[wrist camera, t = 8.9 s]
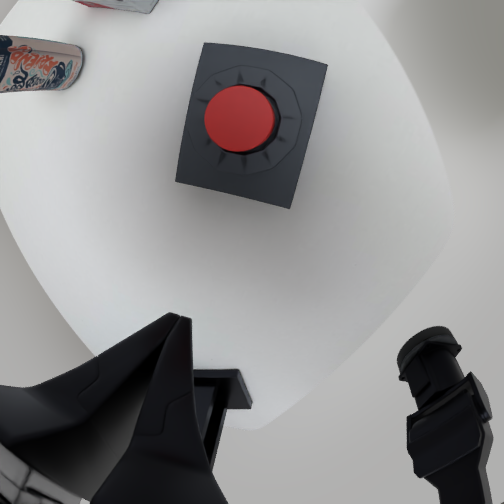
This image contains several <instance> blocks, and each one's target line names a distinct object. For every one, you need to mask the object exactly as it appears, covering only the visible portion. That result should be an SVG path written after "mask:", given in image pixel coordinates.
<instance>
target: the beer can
mask: <svg viewBox="0 0 504 504" xmlns="http://www.w3.org/2000/svg"><path fill="white" fill-rule="evenodd" d="M81 65H82V52H81V50H80V48H79V47H78V46H76V45H72V44H67V43H62V42H56V41H50V40H44V39H36V38H28V37H18V36H5V35H0V93H6V92H18V91H38V90H63V89H65V88H67V87H69V86H70V85H71V84H72V83H73V81H74V80H75V79H76V77H77V75H78V73H79V71H80V68H81Z"/></svg>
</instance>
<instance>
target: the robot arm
mask: <svg viewBox="0 0 504 504" xmlns="http://www.w3.org/2000/svg"><path fill="white" fill-rule="evenodd" d="M461 349H462V348H461V345H458V344H451V343H444V342H437V341H430V340H428V341H426V342H425V343H424V344H423V346H422V347H421V348H420V350H419V351H418V352H417V354H416V355H415V356H414V358H413V359H412V360H411V362H410V363H409V364H408V365H407V367H406V368H405V369H404V370H403V372H402V373H401V374H400V375H399V380H400V381H408V383H409V387H410V390H411V393H412V397H414V398H415V400H416V404H417V407H418V411H417V412H415V413H413V414H412V415H409V416H407V450H408V454H409V455H410V456H411V458H412V460H413V468H414V473H415V474H416V475H417V476H418V477H419V478H424V479H426V480H427V481H429V482H430V483H431V484H432V485H433V486H434V487H436V488H437V489H438V493H439V499H440V504H492V499H491V492H490V487H489V482H488V478H487V473H486V464H487V461H488V457H489V454H490V450H491V446H492V443H493V434H492V431H491V428H490V425H489V422H488V421H489V420H491V419H492V412H491V408H490V404H489V399H488V396H487V394H486V392H485V390H484V388H483V386H482V384H481V383H480V381H479V380H478V379H477V378H476V377H475V376H474V374H473V373H472V372H470V373H468V374H467V376H466V377H464V375H463V373H462V371H461V369H460V366H459V364H458V362H457V360H456V358H455V357H456V356H457V355H458V353H459V352H460V351H461ZM82 498H84V499H85V500H88V501H90V504H228V502H227V501H226V498H225V497H224V495H223V493H222V491H221V489H220V487H219V486H218V484H217V482H216V480H215V478H214V475H213V473H212V470H211V468H210V465H209V462H208V458H207V455H206V452H205V448H204V444H203V441H202V437H201V433H200V430H199V425H198V420H197V416H196V407H195V395H194V378H193V351H192V319H191V318H188V317H184V316H180V315H178V314H174V313H171V312H170V313H167V314H165V315H164V316H162V317H161V318H159V319H157V320H156V321H154V322H152V323H151V324H149V325H147V326H146V327H144V328H142V329H141V330H139V331H137V332H136V333H134V334H133V335H131V336H129V337H128V338H126V339H124V340H123V341H121V342H119V343H118V344H116V345H114V346H113V347H111V348H109V349H108V350H106V351H104V352H103V353H101V354H99V355H98V356H96V357H94V358H93V359H91V360H89V361H87V362H86V363H84V364H82V365H80V366H78V367H76V368H74V369H72V370H70V371H68V372H66V373H64V374H61V375H59V376H57V377H55V378H52V379H50V380H48V381H45V382H43V383H41V384H38V385H36V386H32V387H25V388H20V387H11V386H4V385H0V504H80V501H81V499H82ZM501 504H504V502H503V503H501Z"/></svg>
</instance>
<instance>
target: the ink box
mask: <svg viewBox="0 0 504 504" xmlns="http://www.w3.org/2000/svg"><path fill="white" fill-rule="evenodd" d="M73 1H75V2H78V3H81V4H83V5H86V6H88V7H101V8H112V9H121V10H129V11H135V12H142V13H150V11H151V10H152V8H153V7H154V6H155V4H156V3H157V1H158V0H73Z"/></svg>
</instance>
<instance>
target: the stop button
mask: <svg viewBox="0 0 504 504" xmlns="http://www.w3.org/2000/svg"><path fill="white" fill-rule="evenodd" d="M204 122H205V127H206V130H207V133H208V135H209V136H210V138H211V139H212V140H213V141H214V142H215V143H216V144H217V145H218V146H220V147H222V148H224V149H226V150H229V151H235V152H241V151H247V150H250V149H253V148H255V147H257V146H259V145H261V144H262V143H264V142H265V141H266V140H267V139H268V138H269V136H270V135H271V133H272V131H273V128H274V124H275V114H274V110H273V108H272V106H271V104H270V102H269V101H268V99H267V98H266V97H265V96H264V95H263V94H262V93H261V92H259V91H258V90H256V89H254V88H251V87H247V86H232V87H228V88H226V89H223V90H222V91H220V92H218V93H217V94H216V95H215V96H214V97H213V98H212V99H211V100H210V102H209V104H208V106H207V108H206V111H205V117H204Z"/></svg>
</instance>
